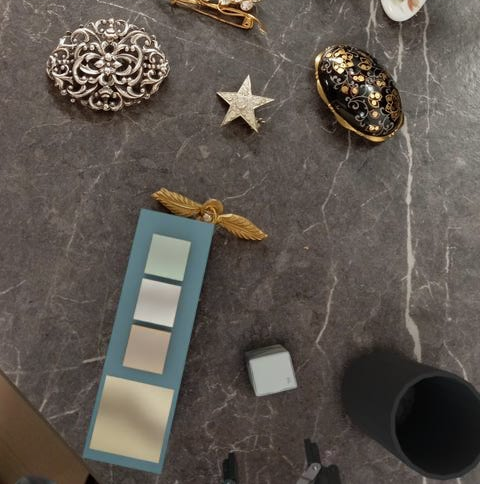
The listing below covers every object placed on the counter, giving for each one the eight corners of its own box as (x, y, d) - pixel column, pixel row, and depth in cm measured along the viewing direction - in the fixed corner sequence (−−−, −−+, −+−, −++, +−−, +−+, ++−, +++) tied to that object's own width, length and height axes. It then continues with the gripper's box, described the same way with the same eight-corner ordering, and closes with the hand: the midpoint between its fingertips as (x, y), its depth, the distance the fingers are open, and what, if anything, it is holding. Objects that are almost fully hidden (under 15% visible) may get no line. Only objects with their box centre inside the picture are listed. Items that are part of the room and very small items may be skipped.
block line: (158, 462, 89) (157, 470, 85) (89, 447, 89) (85, 455, 85) (205, 246, 95) (206, 244, 91) (140, 232, 95) (138, 230, 91)
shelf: (166, 431, 116) (161, 474, 89) (105, 418, 116) (82, 457, 89) (208, 238, 123) (214, 224, 95) (150, 226, 123) (141, 207, 95)
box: (280, 343, 120) (291, 349, 107) (287, 377, 119) (300, 387, 106) (241, 352, 119) (248, 359, 107) (248, 386, 118) (256, 398, 106)
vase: (384, 450, 117) (450, 503, 88) (324, 397, 118) (369, 432, 89) (431, 386, 120) (511, 417, 91) (372, 334, 121) (431, 349, 92)
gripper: (351, 544, 83) (327, 413, 98) (201, 572, 84) (200, 437, 99) (363, 598, 86) (338, 463, 101) (218, 625, 87) (214, 486, 102)
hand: (270, 450), depth 100 cm, fingers open, 8 cm apart
